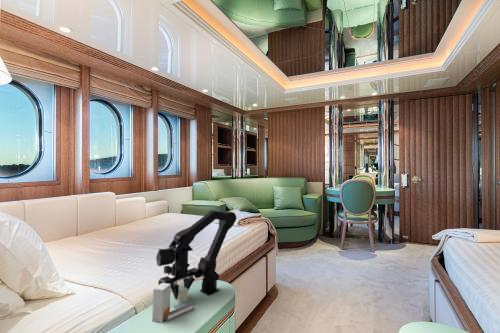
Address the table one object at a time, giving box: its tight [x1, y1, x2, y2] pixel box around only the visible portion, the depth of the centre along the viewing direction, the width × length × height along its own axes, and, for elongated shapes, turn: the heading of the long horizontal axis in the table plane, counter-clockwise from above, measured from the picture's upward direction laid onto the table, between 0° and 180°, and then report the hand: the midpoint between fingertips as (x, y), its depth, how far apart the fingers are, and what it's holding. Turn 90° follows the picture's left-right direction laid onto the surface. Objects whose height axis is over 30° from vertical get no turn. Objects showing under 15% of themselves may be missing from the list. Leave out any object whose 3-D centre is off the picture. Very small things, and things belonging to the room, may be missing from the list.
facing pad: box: [173, 299, 195, 310], centre depth 108 cm, size 7×5×1 cm
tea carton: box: [172, 284, 189, 304], centre depth 114 cm, size 4×6×5 cm
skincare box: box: [151, 283, 172, 323], centre depth 99 cm, size 6×4×12 cm
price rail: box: [164, 302, 195, 322], centre depth 101 cm, size 12×1×2 cm, turn 138°
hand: (180, 297), depth 114 cm, fingers open, 4 cm apart
